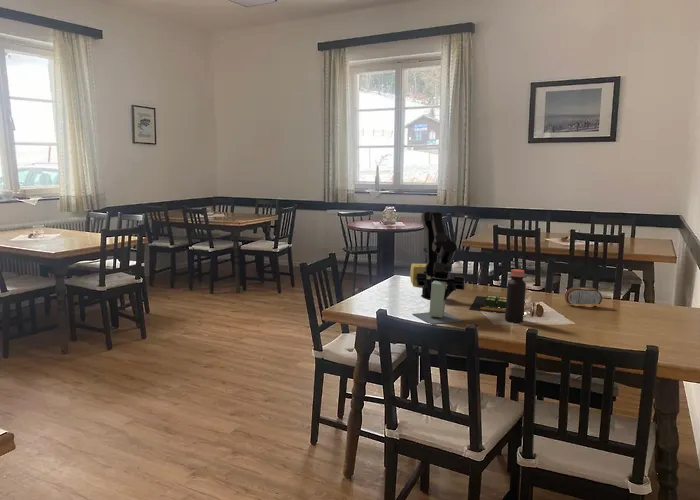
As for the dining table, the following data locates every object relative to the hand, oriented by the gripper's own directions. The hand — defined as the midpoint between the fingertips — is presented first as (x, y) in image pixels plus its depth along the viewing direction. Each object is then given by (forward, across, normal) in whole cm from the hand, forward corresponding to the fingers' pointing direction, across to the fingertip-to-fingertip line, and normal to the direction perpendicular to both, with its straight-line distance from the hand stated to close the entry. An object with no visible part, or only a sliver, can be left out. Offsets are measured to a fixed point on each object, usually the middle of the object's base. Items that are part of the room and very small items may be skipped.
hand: (437, 299), depth 206 cm
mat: (+5, 0, +6) cm, 8 cm away
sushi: (-16, +24, +28) cm, 40 cm away
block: (+4, 0, +6) cm, 7 cm away
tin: (-26, +57, +37) cm, 72 cm away
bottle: (-1, +29, +12) cm, 31 cm away
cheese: (-36, -17, +48) cm, 62 cm away
